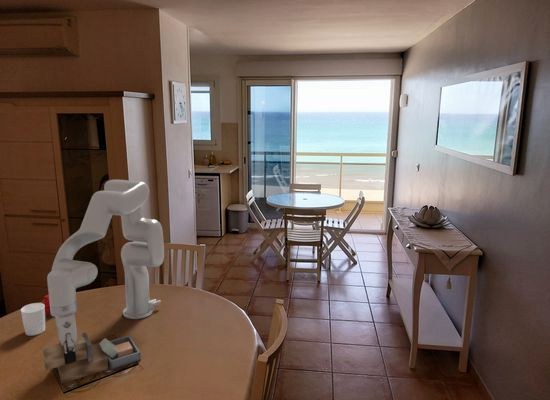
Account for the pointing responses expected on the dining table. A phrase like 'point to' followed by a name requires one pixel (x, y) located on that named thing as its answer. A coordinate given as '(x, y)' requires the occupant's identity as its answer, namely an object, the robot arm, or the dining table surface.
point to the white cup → (33, 318)
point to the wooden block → (84, 365)
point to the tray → (125, 360)
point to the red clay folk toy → (47, 306)
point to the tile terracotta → (124, 349)
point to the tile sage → (108, 347)
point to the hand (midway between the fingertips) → (68, 354)
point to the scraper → (56, 352)
